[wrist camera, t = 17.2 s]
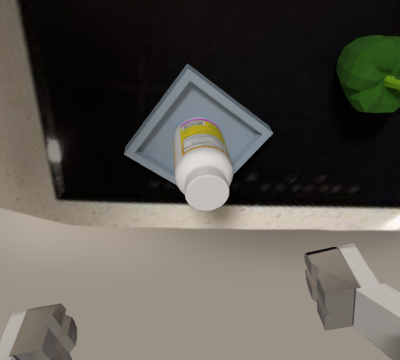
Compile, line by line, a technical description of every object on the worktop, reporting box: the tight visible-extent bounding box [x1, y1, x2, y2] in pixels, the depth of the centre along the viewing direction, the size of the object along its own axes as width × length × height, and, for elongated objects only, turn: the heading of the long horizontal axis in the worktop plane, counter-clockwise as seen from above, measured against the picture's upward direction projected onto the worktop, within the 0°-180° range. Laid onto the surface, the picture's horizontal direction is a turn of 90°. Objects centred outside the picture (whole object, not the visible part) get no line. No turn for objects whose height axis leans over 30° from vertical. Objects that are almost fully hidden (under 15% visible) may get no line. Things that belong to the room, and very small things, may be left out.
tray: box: [124, 64, 273, 185], centre depth 47 cm, size 14×14×2 cm
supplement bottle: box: [173, 117, 233, 211], centre depth 42 cm, size 7×7×13 cm
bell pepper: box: [336, 35, 400, 113], centre depth 40 cm, size 8×8×10 cm
